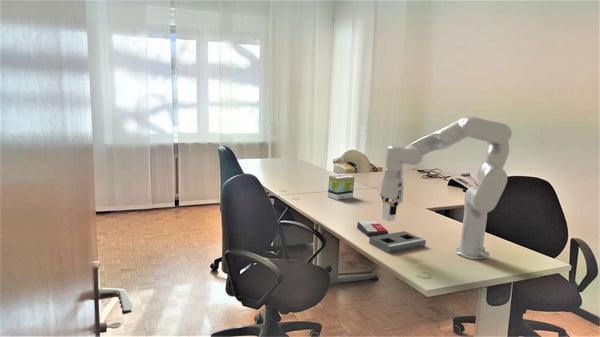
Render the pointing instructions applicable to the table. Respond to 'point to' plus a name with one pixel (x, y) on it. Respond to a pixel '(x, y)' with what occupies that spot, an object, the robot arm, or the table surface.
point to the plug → (387, 211)
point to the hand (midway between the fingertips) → (389, 212)
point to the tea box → (341, 186)
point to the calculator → (371, 228)
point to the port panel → (397, 242)
